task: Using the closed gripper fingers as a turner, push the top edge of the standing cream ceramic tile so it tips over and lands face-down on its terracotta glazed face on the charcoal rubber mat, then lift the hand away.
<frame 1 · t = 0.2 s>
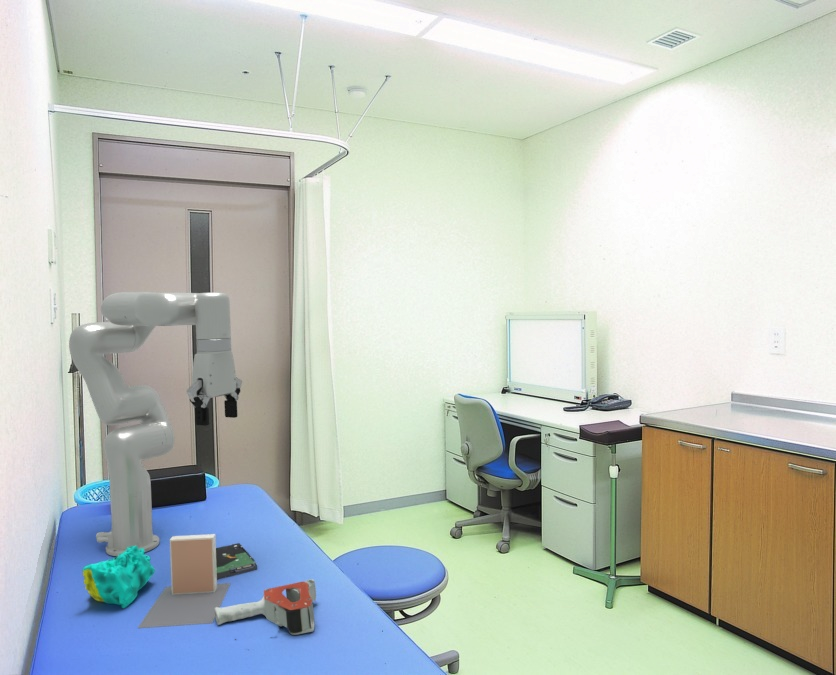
hand: (217, 421, 137), 36 cm above the table, tool pointing down, fingers open, 9 cm apart
mat: (187, 606, 124), on the table
tape dispenser: (276, 618, 119), on the table, touching mat
teal sponge: (121, 600, 128), on the table
tile: (194, 591, 129), point 1 cm above the table, touching mat
disk drive: (227, 569, 143), on the table
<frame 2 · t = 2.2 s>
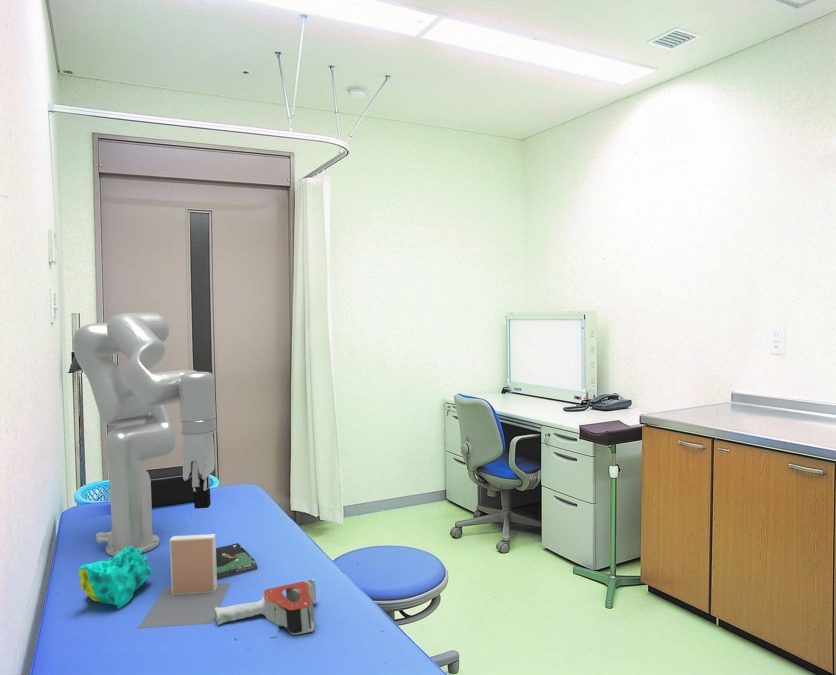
hand: (202, 506, 136), 17 cm above the table, tool pointing down, fingers closed
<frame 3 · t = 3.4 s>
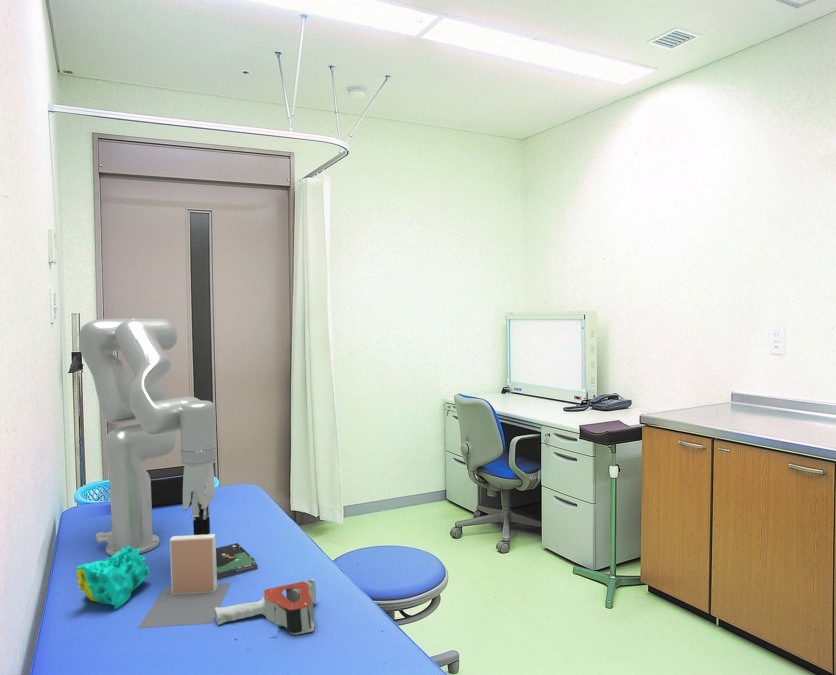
hand: (202, 535, 136), 10 cm above the table, tool pointing down, fingers closed
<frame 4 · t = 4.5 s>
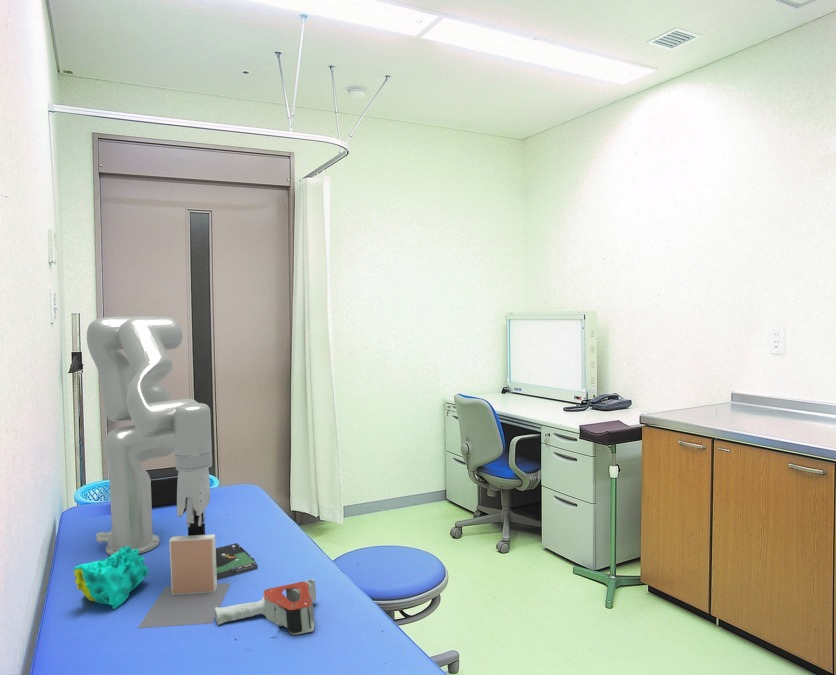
hand: (197, 542, 132), 10 cm above the table, tool pointing down, fingers closed
tile: (194, 591, 129), point 1 cm above the table, touching gripper, mat
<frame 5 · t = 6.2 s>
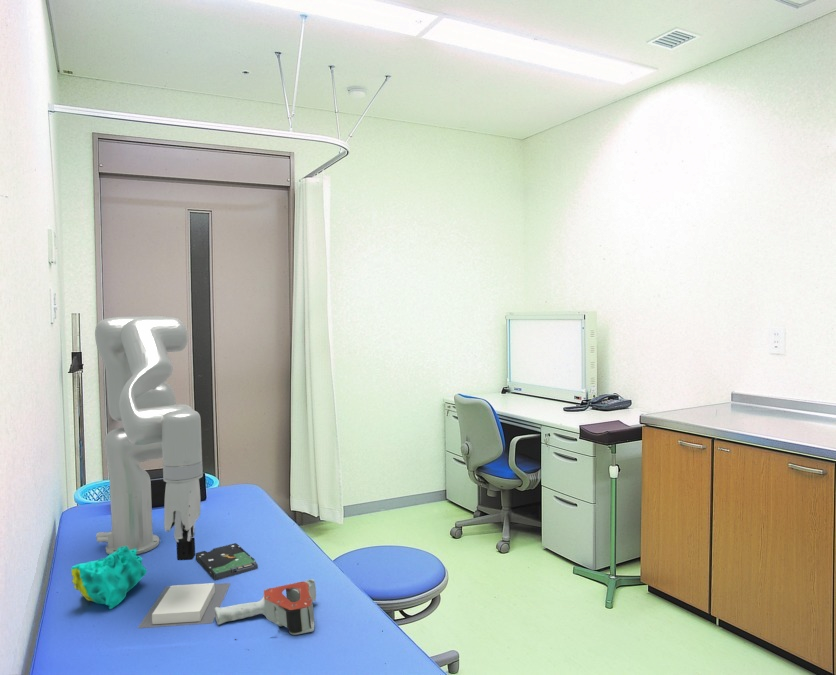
hand: (186, 558, 124), 10 cm above the table, tool pointing down, fingers closed
tile: (193, 588, 128), point 2 cm above the table, tilted 90°, touching mat
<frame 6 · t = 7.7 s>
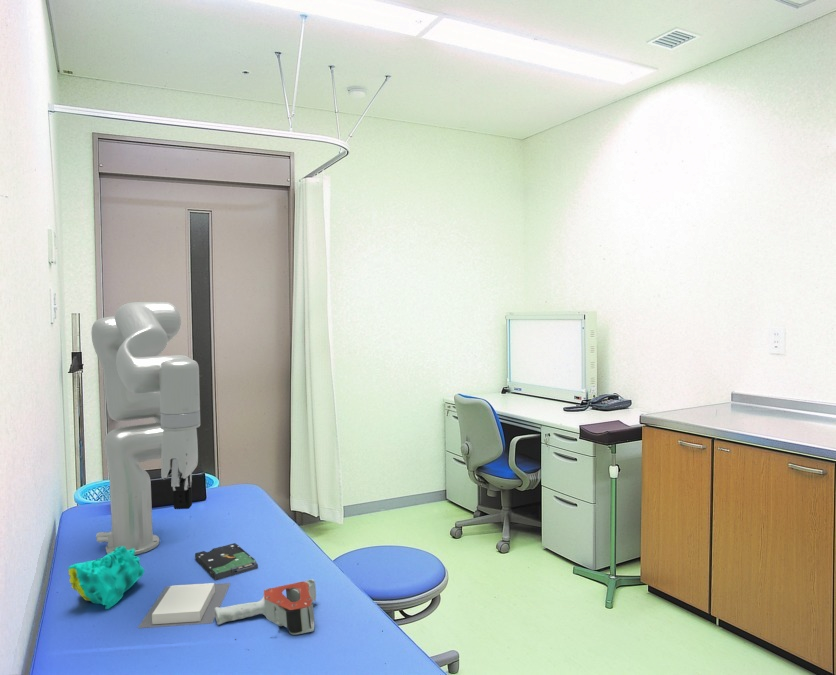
hand: (183, 507, 123), 21 cm above the table, tool pointing down, fingers closed
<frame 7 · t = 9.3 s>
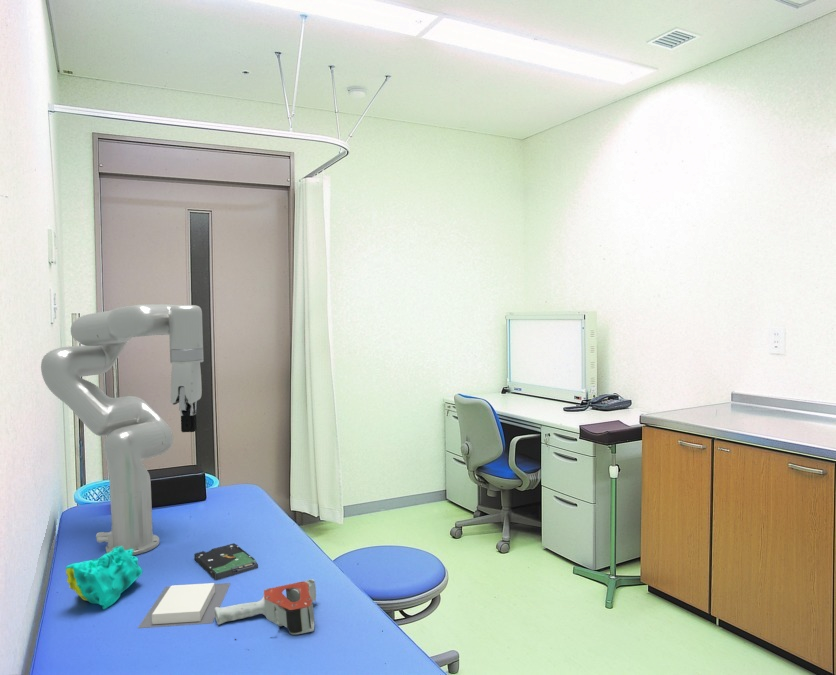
hand: (189, 431, 145), 32 cm above the table, tool pointing down, fingers closed
tape dispenser: (276, 618, 119), on the table
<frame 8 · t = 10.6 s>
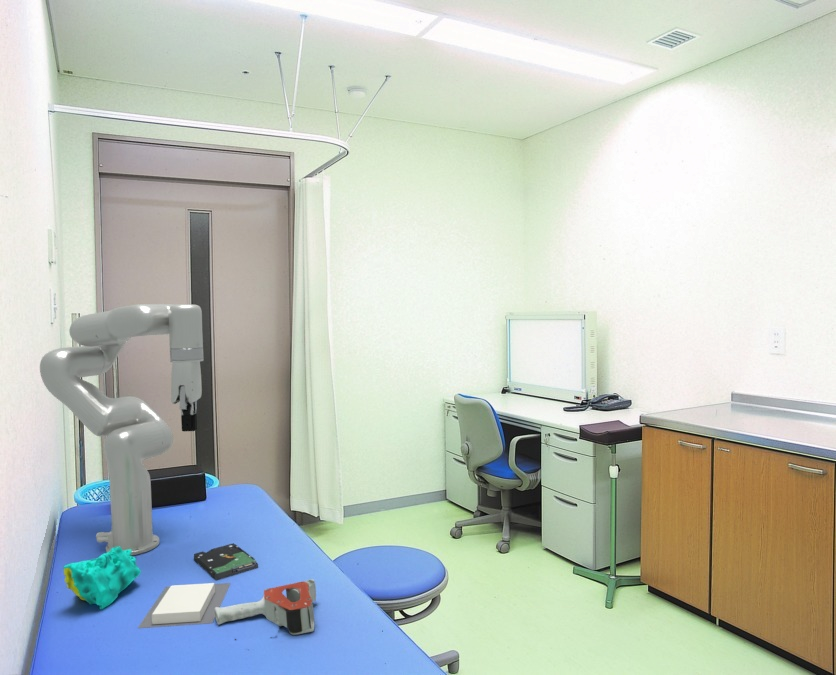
hand: (189, 430, 146), 32 cm above the table, tool pointing down, fingers closed
tape dispenser: (276, 618, 119), on the table, touching mat
at the end: tile tilted 90°; tile inside the target area (0.2 cm from its centre), point 1.7 cm above the table; tile touching mat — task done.
